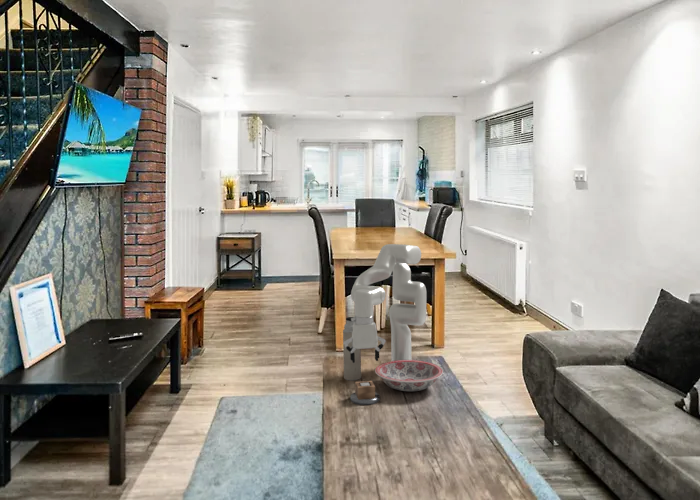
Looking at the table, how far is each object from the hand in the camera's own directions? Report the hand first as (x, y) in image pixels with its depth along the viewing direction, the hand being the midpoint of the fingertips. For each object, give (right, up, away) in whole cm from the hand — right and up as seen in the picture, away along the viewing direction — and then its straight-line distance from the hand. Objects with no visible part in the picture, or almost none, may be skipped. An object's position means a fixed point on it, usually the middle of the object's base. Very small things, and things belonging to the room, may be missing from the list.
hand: (364, 360), depth 230 cm
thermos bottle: (-5, -14, +29) cm, 32 cm away
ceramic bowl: (+19, -15, +14) cm, 28 cm away
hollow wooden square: (0, -15, +1) cm, 15 cm away
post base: (0, -16, +1) cm, 16 cm away
